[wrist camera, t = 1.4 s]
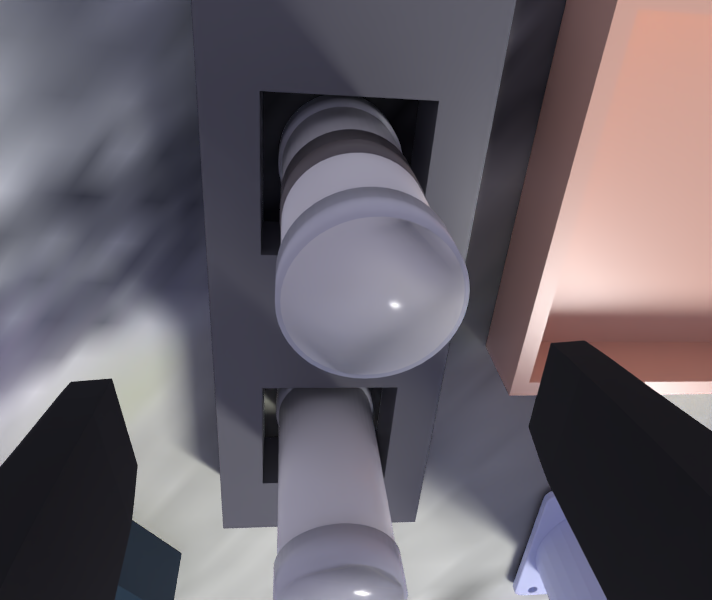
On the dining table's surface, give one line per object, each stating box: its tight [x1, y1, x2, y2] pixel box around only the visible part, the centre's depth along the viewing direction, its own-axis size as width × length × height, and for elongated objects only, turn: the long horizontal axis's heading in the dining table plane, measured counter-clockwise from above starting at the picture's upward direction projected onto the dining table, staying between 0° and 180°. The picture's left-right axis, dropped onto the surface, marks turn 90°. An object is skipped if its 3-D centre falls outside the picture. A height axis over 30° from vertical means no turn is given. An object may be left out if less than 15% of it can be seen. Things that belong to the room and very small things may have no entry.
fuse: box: [273, 388, 408, 600], centre depth 21 cm, size 4×4×9 cm
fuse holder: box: [191, 0, 516, 528], centre depth 21 cm, size 8×20×2 cm, turn 176°
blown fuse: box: [275, 95, 470, 379], centre depth 15 cm, size 4×4×9 cm
